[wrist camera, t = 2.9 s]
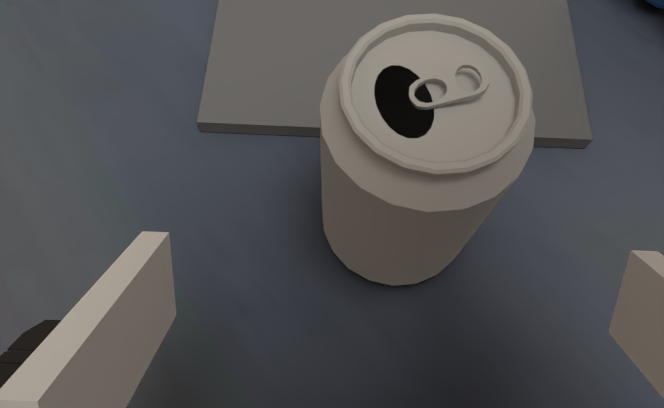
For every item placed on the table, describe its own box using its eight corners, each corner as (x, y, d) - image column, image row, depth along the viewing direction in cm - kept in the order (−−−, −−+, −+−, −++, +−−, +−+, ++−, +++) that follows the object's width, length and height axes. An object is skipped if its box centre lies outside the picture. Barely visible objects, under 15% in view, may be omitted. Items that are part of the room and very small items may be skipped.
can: (308, 175, 28) (295, 14, 17) (436, 147, 29) (503, -24, 18) (341, 305, 25) (352, 214, 14) (482, 271, 26) (597, 158, 15)
